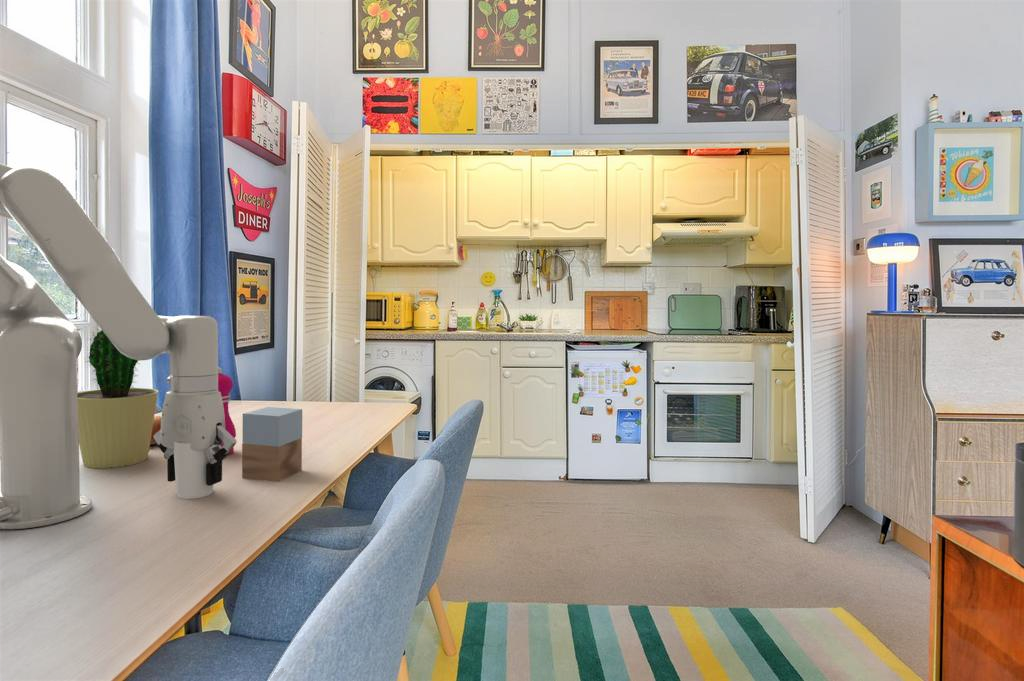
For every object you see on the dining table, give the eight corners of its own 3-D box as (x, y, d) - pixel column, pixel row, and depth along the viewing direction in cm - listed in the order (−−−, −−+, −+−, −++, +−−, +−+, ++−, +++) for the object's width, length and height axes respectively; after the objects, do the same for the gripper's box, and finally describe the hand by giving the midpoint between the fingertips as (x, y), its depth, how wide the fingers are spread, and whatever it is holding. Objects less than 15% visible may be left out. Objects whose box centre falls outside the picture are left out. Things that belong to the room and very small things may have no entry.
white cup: (206, 485, 104) (206, 433, 104) (222, 493, 100) (222, 439, 99) (167, 493, 99) (167, 439, 98) (182, 502, 95) (181, 445, 94)
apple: (119, 447, 129) (119, 413, 129) (150, 439, 137) (150, 408, 136) (145, 450, 127) (145, 416, 127) (175, 442, 135) (175, 410, 134)
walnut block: (278, 482, 107) (278, 446, 107) (242, 478, 109) (242, 443, 108) (301, 470, 115) (301, 437, 115) (267, 467, 117) (267, 434, 116)
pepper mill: (225, 458, 122) (225, 369, 121) (193, 457, 122) (192, 368, 121) (241, 450, 129) (241, 366, 128) (211, 449, 130) (211, 365, 128)
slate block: (278, 446, 107) (278, 416, 107) (242, 443, 108) (242, 413, 108) (302, 437, 115) (302, 409, 114) (268, 434, 116) (268, 406, 116)
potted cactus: (175, 455, 124) (174, 322, 122) (109, 474, 109) (106, 323, 107) (123, 448, 128) (121, 320, 126) (52, 466, 113) (49, 321, 111)
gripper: (135, 384, 96) (136, 483, 97) (221, 390, 93) (222, 492, 94) (169, 379, 104) (170, 471, 105) (251, 384, 100) (251, 479, 101)
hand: (194, 480), depth 99 cm, fingers open, 7 cm apart
